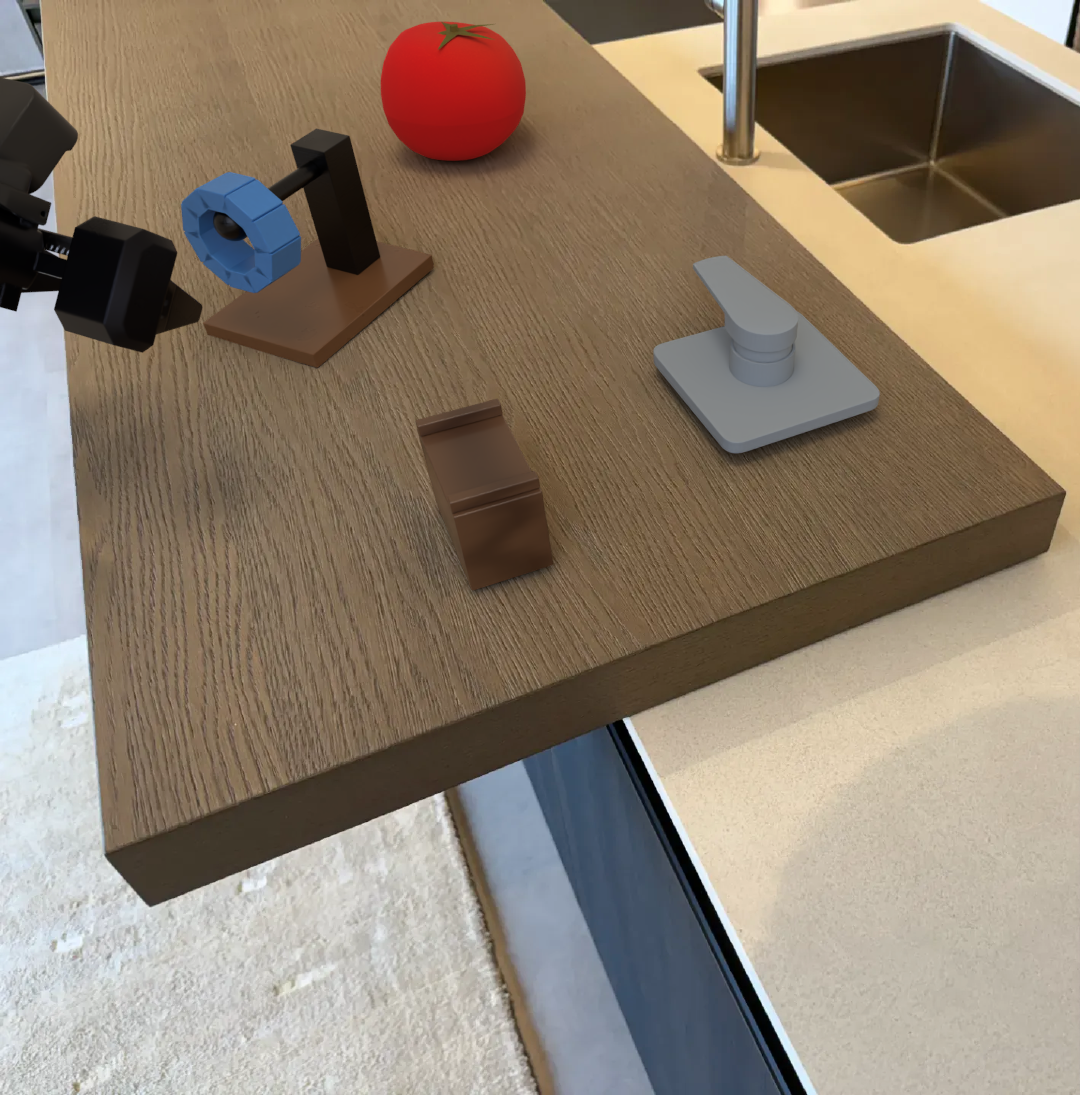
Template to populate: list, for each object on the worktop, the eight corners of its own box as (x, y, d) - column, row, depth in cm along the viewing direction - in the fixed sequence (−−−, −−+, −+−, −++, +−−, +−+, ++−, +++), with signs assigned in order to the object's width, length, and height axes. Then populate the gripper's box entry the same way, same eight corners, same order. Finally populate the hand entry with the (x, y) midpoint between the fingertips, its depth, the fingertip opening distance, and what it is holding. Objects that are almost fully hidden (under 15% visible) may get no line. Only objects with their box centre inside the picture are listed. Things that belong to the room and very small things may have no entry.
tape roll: (285, 302, 72) (256, 202, 67) (199, 279, 74) (165, 180, 69) (313, 282, 74) (287, 184, 69) (229, 260, 76) (198, 164, 71)
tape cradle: (471, 591, 60) (450, 507, 55) (435, 501, 65) (413, 416, 60) (554, 565, 62) (540, 480, 57) (512, 478, 67) (496, 394, 62)
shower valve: (781, 237, 78) (896, 341, 69) (776, 300, 82) (884, 406, 73) (631, 274, 73) (733, 390, 64) (633, 339, 77) (729, 457, 68)
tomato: (369, 140, 100) (342, 14, 92) (497, 109, 106) (482, -12, 98) (425, 192, 93) (401, 61, 85) (558, 155, 99) (548, 30, 91)
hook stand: (317, 368, 75) (270, 226, 67) (207, 336, 77) (149, 196, 69) (434, 267, 85) (405, 133, 76) (333, 242, 87) (295, 109, 79)
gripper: (67, 77, 46) (296, 199, 61) (-221, 14, 51) (58, 142, 66) (5, 317, 47) (248, 380, 62) (-274, 233, 52) (15, 311, 67)
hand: (140, 296), depth 64 cm, fingers open, 9 cm apart
